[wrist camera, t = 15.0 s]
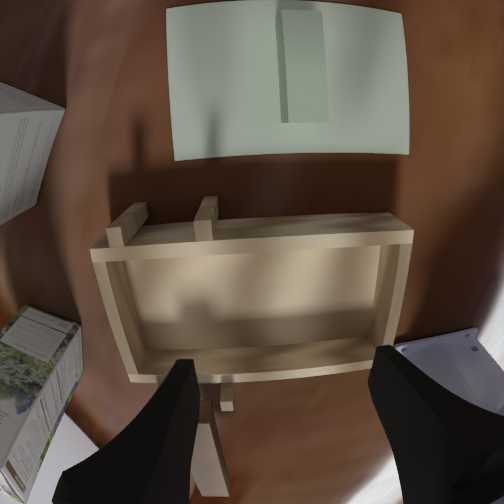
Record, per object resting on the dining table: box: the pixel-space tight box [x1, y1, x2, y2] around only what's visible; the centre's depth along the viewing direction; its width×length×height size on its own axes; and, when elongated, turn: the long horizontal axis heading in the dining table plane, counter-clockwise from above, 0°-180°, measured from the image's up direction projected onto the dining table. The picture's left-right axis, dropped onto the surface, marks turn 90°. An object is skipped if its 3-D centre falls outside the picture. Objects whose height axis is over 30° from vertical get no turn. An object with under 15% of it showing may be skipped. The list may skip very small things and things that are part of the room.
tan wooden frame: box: [90, 196, 414, 411], centre depth 19 cm, size 18×13×5 cm
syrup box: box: [0, 305, 83, 504], centre depth 16 cm, size 6×6×14 cm
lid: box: [166, 0, 409, 161], centre depth 15 cm, size 14×10×4 cm, turn 93°
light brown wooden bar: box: [191, 400, 229, 496], centre depth 21 cm, size 2×12×2 cm, turn 3°
